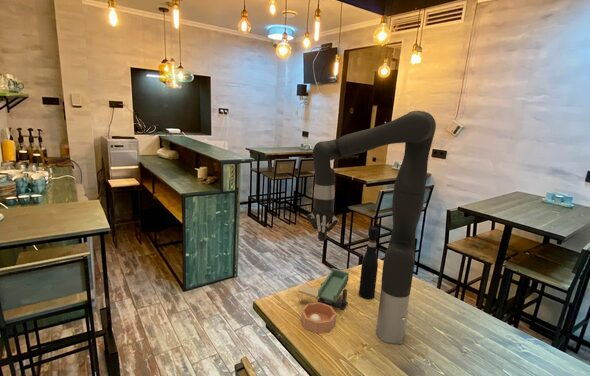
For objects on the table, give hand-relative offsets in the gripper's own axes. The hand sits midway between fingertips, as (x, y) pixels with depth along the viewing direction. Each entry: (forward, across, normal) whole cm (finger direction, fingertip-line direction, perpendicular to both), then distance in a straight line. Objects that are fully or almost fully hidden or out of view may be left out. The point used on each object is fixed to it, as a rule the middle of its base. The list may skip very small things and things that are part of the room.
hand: (322, 240), depth 119 cm
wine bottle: (+27, -14, -17) cm, 35 cm away
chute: (+22, 0, -4) cm, 23 cm away
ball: (+24, -4, +13) cm, 28 cm away
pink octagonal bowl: (+27, -4, +10) cm, 29 cm away
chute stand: (+27, -4, -4) cm, 27 cm away
